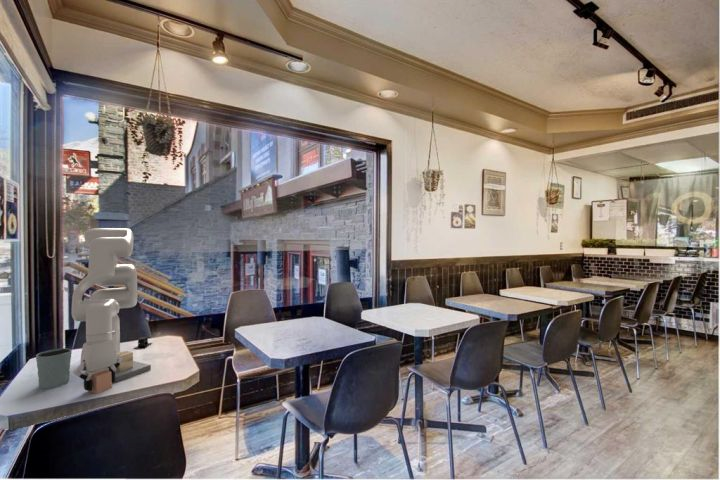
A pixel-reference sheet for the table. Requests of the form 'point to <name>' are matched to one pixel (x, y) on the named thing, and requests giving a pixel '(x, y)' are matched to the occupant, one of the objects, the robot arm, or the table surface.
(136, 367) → the baseplate
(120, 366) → the maple block
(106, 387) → the terracotta block
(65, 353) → the green cup
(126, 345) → the table surface
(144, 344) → the black frame block
